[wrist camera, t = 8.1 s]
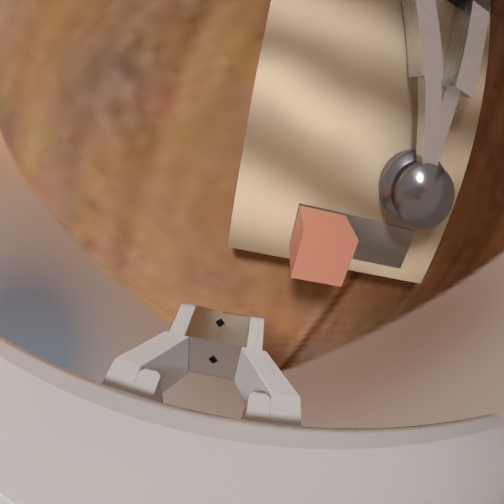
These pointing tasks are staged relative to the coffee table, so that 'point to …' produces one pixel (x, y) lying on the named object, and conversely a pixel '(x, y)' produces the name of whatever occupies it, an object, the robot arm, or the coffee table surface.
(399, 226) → the board
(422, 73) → the tong arm
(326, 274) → the salmon pink block
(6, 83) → the coffee table surface
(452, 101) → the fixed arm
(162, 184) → the coffee table surface
